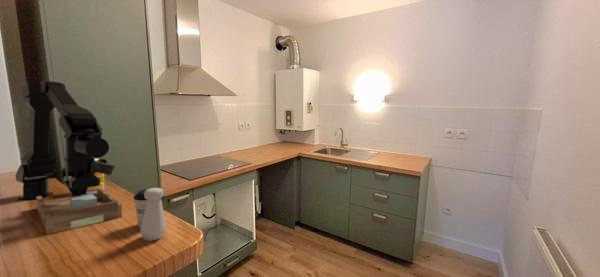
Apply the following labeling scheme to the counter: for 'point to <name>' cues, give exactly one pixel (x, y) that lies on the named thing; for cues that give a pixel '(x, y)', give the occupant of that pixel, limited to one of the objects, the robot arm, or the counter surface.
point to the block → (82, 201)
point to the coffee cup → (140, 206)
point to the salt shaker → (153, 215)
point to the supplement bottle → (94, 189)
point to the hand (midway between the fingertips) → (79, 204)
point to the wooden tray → (77, 212)
